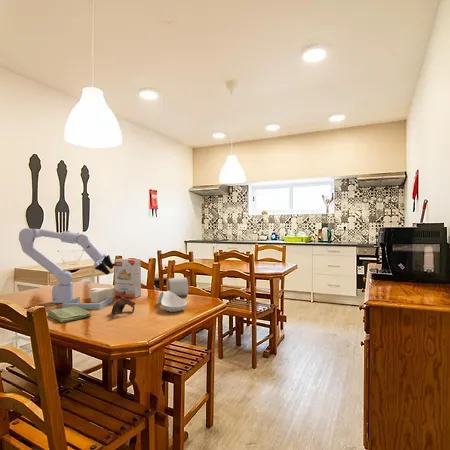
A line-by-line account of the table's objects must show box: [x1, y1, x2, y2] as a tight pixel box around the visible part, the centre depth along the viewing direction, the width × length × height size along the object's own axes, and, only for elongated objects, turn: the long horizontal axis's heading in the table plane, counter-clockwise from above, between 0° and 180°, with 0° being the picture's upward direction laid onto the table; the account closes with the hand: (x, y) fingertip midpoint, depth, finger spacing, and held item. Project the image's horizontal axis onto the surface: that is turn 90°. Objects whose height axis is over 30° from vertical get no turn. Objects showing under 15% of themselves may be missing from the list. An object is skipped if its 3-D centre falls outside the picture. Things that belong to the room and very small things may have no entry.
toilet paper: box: [166, 277, 189, 297], centre depth 178 cm, size 10×10×10 cm
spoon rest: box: [157, 291, 188, 313], centre depth 151 cm, size 24×12×7 cm, turn 30°
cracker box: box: [114, 258, 142, 299], centre depth 178 cm, size 14×6×21 cm, turn 68°
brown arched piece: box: [110, 297, 136, 316], centre depth 141 cm, size 12×10×8 cm
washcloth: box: [47, 306, 92, 324], centre depth 138 cm, size 13×18×3 cm
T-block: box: [89, 287, 116, 303], centre depth 171 cm, size 12×12×5 cm
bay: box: [61, 296, 114, 310], centre depth 158 cm, size 18×16×2 cm
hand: (110, 270), depth 176 cm, fingers open, 7 cm apart
